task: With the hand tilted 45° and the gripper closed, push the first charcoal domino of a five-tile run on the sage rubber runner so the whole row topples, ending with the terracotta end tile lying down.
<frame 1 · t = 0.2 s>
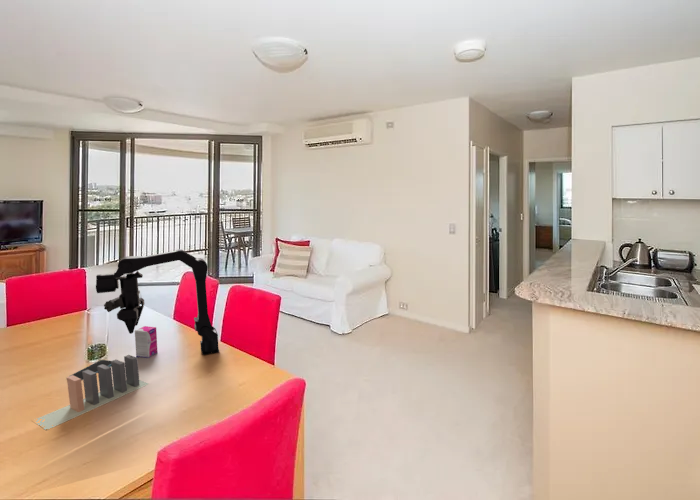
hand: (133, 329, 144), 14 cm above the table, tool pointing down, fingers open, 9 cm apart
domino 2: (120, 389, 126), resting on runner
domino 3: (107, 395, 122), resting on runner
domino 1: (133, 384, 129), resting on runner
runner: (95, 401, 119), on the table
smartphone: (92, 372, 140), on the table
domino 5: (77, 408, 115), resting on runner
supplement box: (147, 355, 154), on the table
domino 4: (92, 401, 118), resting on runner
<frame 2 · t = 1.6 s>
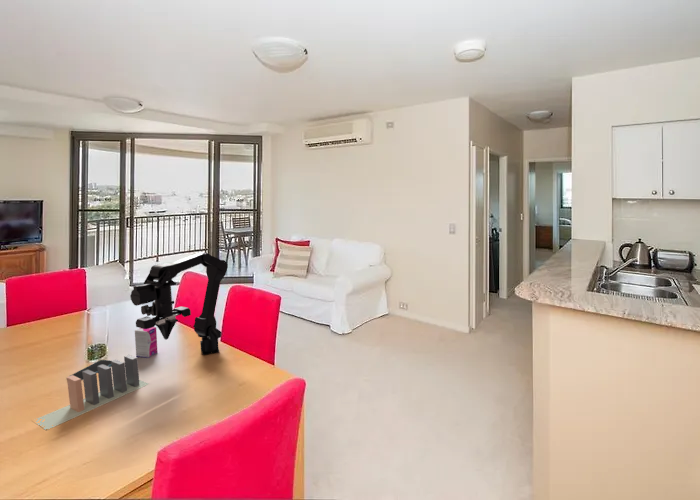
hand: (166, 339, 140), 12 cm above the table, tool pointing down, fingers closed
nothing on the table moved.
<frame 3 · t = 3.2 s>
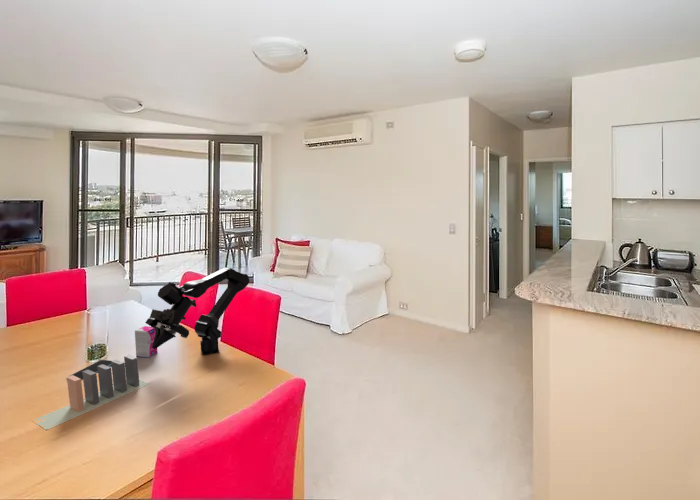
hand: (153, 348, 135), 10 cm above the table, tool tilted 45°, fingers closed
nothing on the table moved.
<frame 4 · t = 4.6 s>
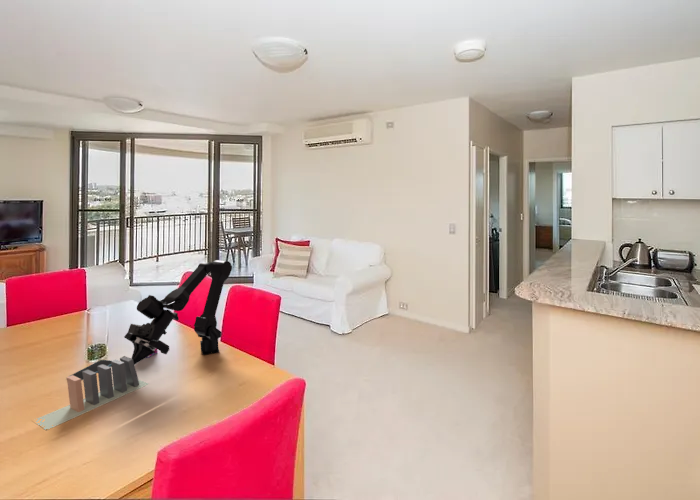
hand: (131, 365, 128), 7 cm above the table, tool tilted 45°, fingers closed
domino 1: (132, 384, 129), resting on runner, tilted 9°, touching gripper
everything else where it was.
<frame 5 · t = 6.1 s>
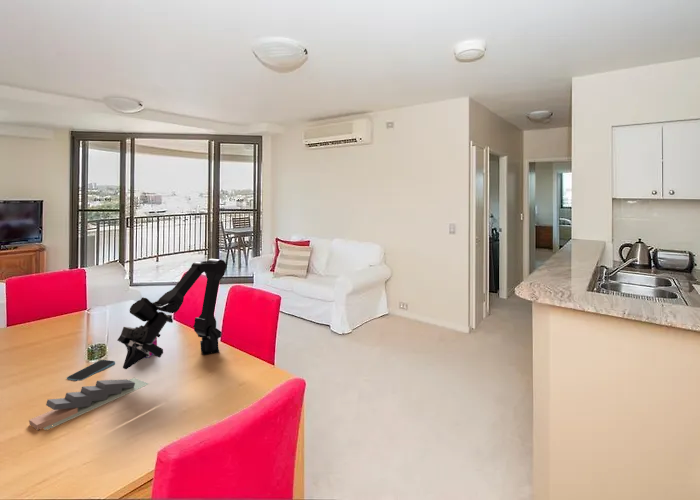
hand: (124, 368, 126), 7 cm above the table, tool tilted 45°, fingers closed
domino 2: (117, 389, 125), point 1 cm above the table, tilted 68°, touching domino 1, domino 3
domino 3: (103, 394, 121), point 1 cm above the table, tilted 68°, touching domino 2, domino 4, runner
domino 1: (130, 383, 128), point 1 cm above the table, tilted 68°, touching domino 2, runner
domino 5: (73, 407, 114), point 1 cm above the table, tilted 90°, touching domino 4, runner
domino 4: (87, 401, 117), point 1 cm above the table, tilted 68°, touching domino 3, domino 5
everything else where it was.
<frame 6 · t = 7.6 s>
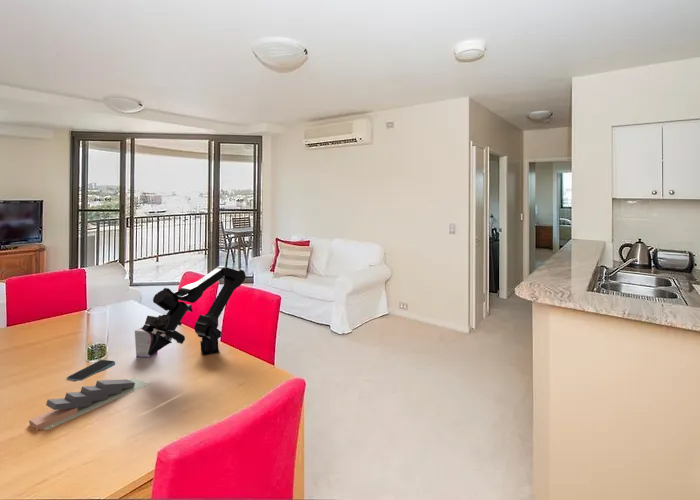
hand: (149, 354, 134), 9 cm above the table, tool tilted 45°, fingers closed
nothing on the table moved.
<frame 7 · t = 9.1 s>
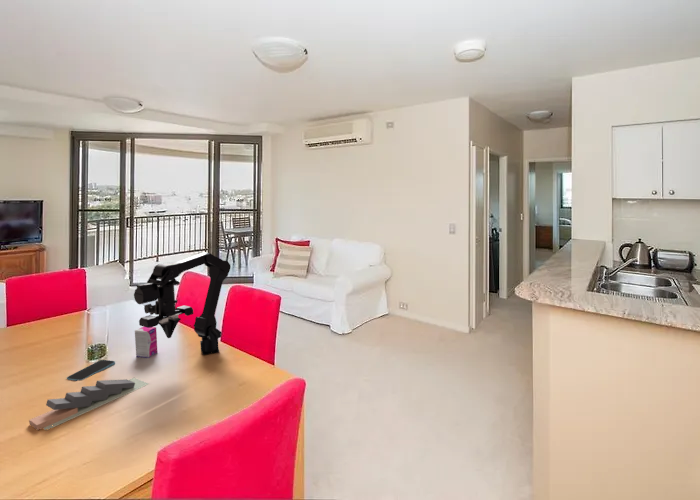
hand: (169, 337, 141), 12 cm above the table, tool pointing down, fingers closed
nothing on the table moved.
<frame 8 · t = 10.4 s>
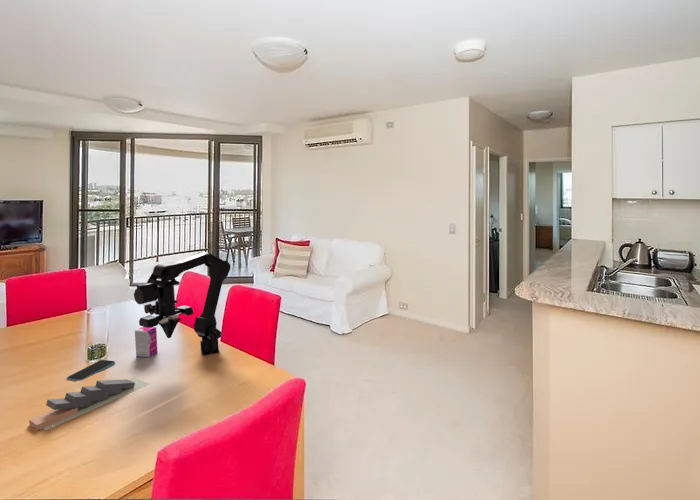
hand: (169, 337, 141), 12 cm above the table, tool pointing down, fingers closed
nothing on the table moved.
at the end: domino 5 tilted 90°; domino 1 tilted 68° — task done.
